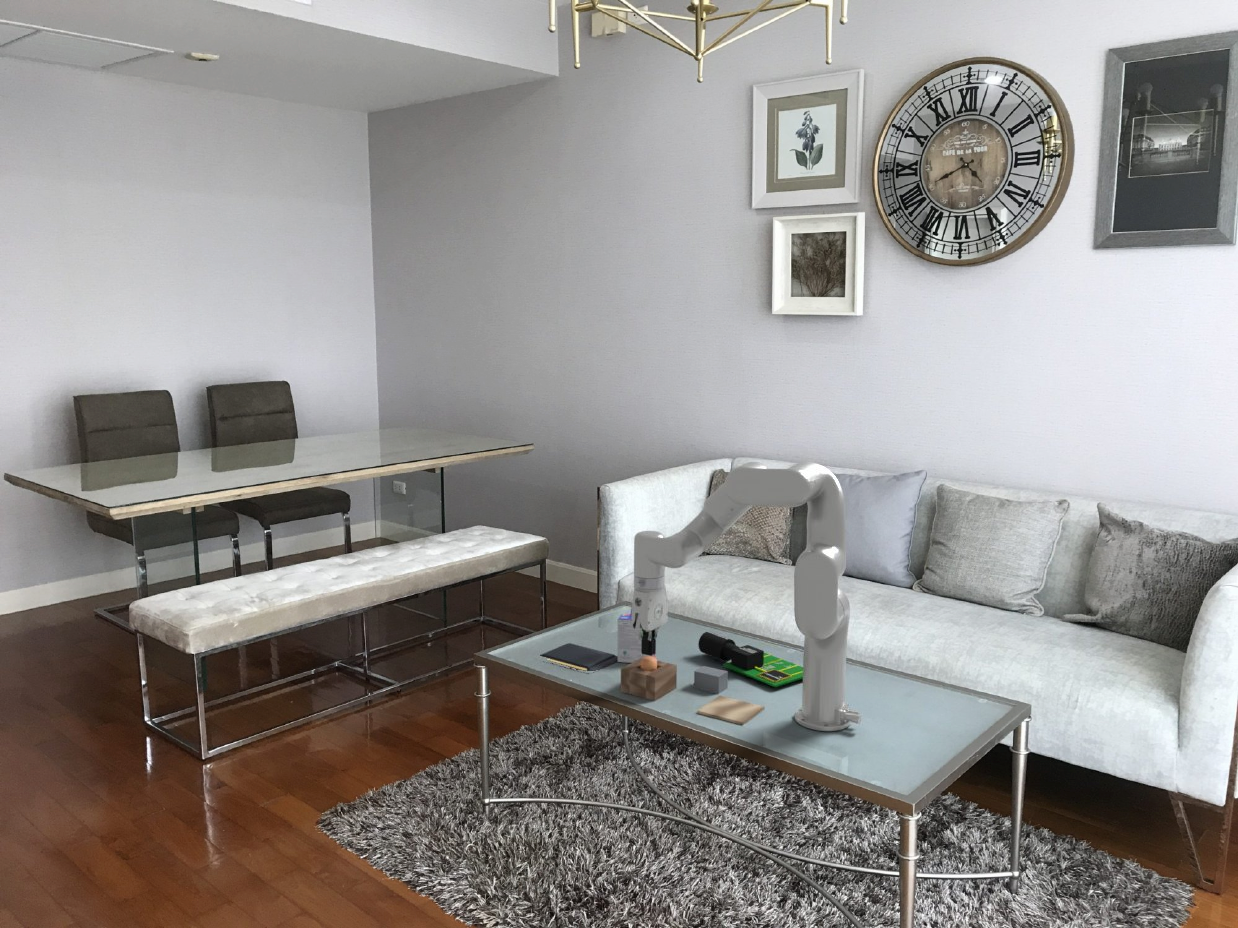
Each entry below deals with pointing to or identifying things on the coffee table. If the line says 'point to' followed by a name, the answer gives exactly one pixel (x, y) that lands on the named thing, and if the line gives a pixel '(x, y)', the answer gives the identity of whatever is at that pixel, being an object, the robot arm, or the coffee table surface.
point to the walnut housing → (649, 680)
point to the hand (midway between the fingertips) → (648, 653)
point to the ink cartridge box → (628, 641)
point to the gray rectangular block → (711, 679)
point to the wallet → (580, 657)
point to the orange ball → (649, 663)
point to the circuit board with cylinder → (750, 660)
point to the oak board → (731, 710)
